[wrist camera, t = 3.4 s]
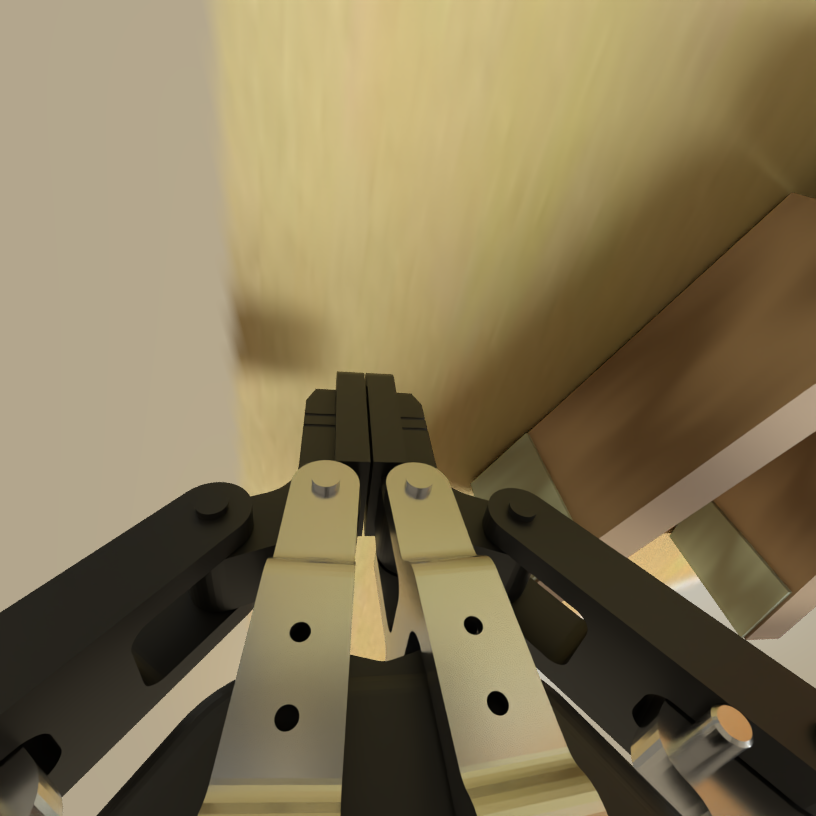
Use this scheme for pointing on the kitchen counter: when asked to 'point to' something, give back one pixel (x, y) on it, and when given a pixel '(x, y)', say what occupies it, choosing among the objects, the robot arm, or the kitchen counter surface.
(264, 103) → the kitchen counter surface
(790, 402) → the tong arm
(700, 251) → the kitchen counter surface
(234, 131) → the kitchen counter surface
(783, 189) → the kitchen counter surface
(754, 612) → the tongs frame
